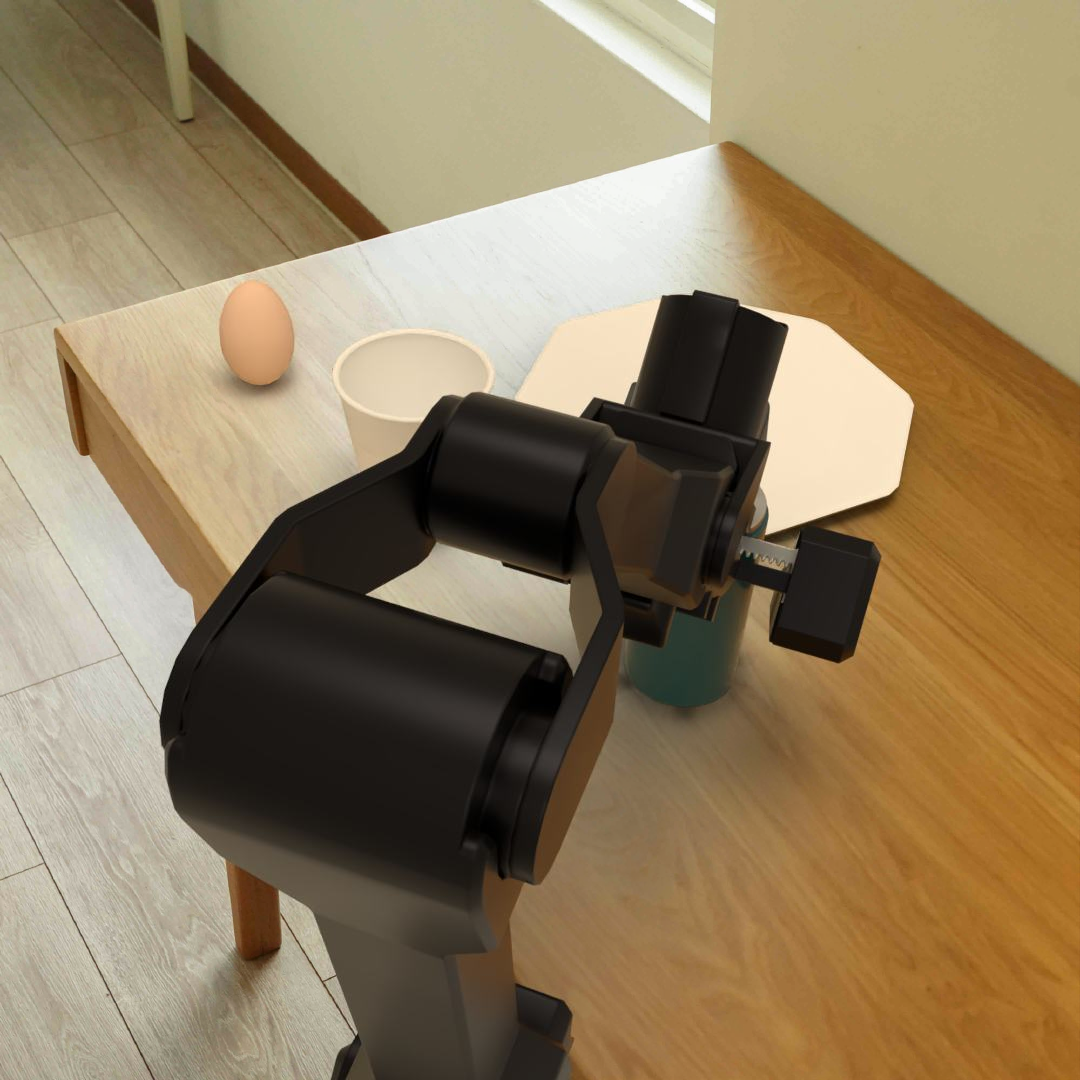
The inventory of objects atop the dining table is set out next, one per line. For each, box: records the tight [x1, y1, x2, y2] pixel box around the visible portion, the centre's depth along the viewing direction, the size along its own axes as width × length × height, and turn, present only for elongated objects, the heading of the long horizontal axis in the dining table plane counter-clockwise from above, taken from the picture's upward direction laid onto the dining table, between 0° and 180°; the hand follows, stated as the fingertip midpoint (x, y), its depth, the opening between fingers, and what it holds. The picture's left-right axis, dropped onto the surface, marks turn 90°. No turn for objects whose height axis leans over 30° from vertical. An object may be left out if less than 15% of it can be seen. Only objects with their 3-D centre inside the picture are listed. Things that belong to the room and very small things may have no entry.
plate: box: [514, 293, 915, 538], centre depth 98 cm, size 28×28×2 cm
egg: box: [218, 279, 295, 386], centre depth 97 cm, size 5×5×8 cm
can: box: [623, 486, 769, 708], centre depth 76 cm, size 7×7×13 cm
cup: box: [331, 328, 496, 473], centre depth 86 cm, size 10×10×11 cm
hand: (700, 568), depth 76 cm, fingers open, 9 cm apart
